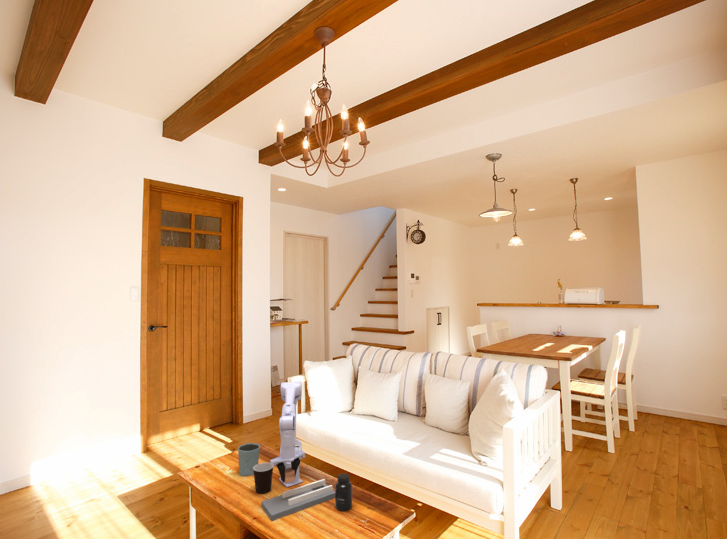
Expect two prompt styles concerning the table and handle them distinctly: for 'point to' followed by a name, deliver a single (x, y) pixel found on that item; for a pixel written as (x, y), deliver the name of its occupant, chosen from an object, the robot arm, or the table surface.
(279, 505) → the trap deck
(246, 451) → the grey green planter pot
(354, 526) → the table surface
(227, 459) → the table surface
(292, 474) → the block
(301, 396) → the robot arm
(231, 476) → the table surface
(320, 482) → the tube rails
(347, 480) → the supplement bottle
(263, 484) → the coffee mug
